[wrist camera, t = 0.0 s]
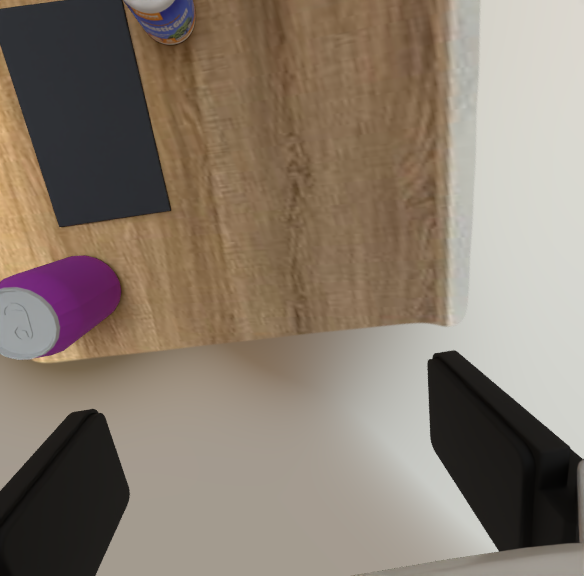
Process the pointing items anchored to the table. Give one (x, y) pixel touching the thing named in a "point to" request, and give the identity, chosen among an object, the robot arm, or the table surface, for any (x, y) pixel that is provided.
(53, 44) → the desk mat
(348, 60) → the table surface
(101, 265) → the beverage can
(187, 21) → the pill bottle
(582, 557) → the robot arm
